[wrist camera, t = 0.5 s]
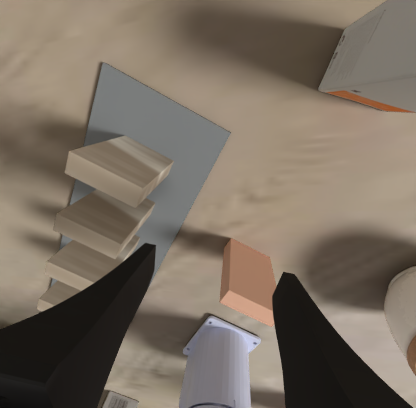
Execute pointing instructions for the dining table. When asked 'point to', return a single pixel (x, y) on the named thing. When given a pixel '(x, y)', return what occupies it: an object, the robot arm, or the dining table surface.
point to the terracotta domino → (247, 282)
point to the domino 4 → (84, 263)
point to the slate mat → (158, 141)
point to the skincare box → (377, 59)
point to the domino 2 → (119, 168)
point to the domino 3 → (102, 222)
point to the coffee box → (118, 401)
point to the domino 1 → (56, 295)
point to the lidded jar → (403, 313)
